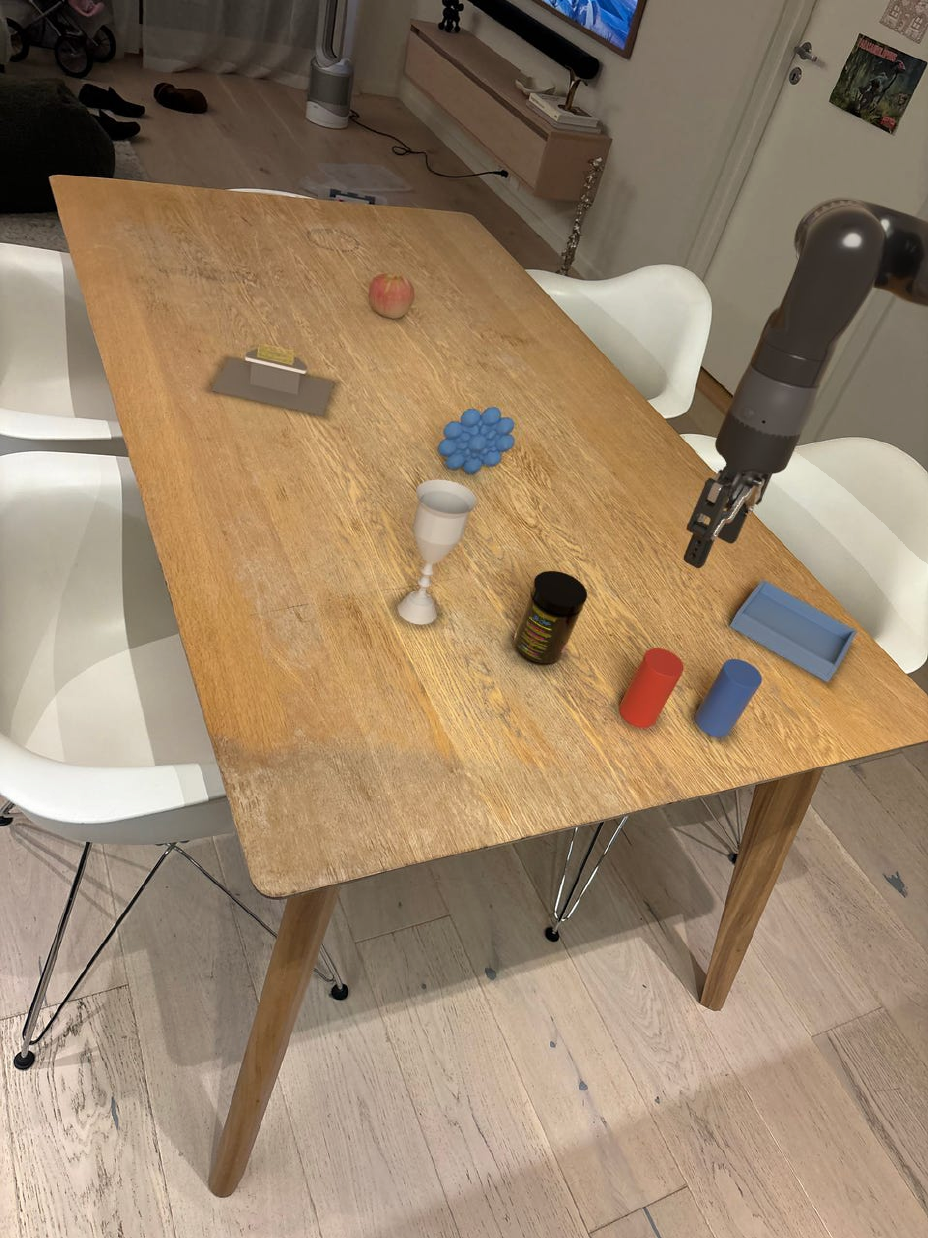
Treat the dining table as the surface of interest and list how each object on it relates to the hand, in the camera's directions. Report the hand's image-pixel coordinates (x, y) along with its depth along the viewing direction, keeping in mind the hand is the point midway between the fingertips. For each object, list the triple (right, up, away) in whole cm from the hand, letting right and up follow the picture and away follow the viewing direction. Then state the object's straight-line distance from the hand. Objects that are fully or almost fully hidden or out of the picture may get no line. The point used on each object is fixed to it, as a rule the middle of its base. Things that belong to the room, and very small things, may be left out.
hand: (709, 551), depth 100 cm
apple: (-42, +53, +83) cm, 108 cm away
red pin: (-5, -19, +13) cm, 23 cm away
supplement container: (-18, -11, +17) cm, 27 cm away
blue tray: (+20, -10, +32) cm, 39 cm away
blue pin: (+4, -20, +14) cm, 25 cm away
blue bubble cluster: (-26, +16, +46) cm, 56 cm away
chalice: (-33, -6, +18) cm, 38 cm away
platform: (-58, +31, +52) cm, 84 cm away
